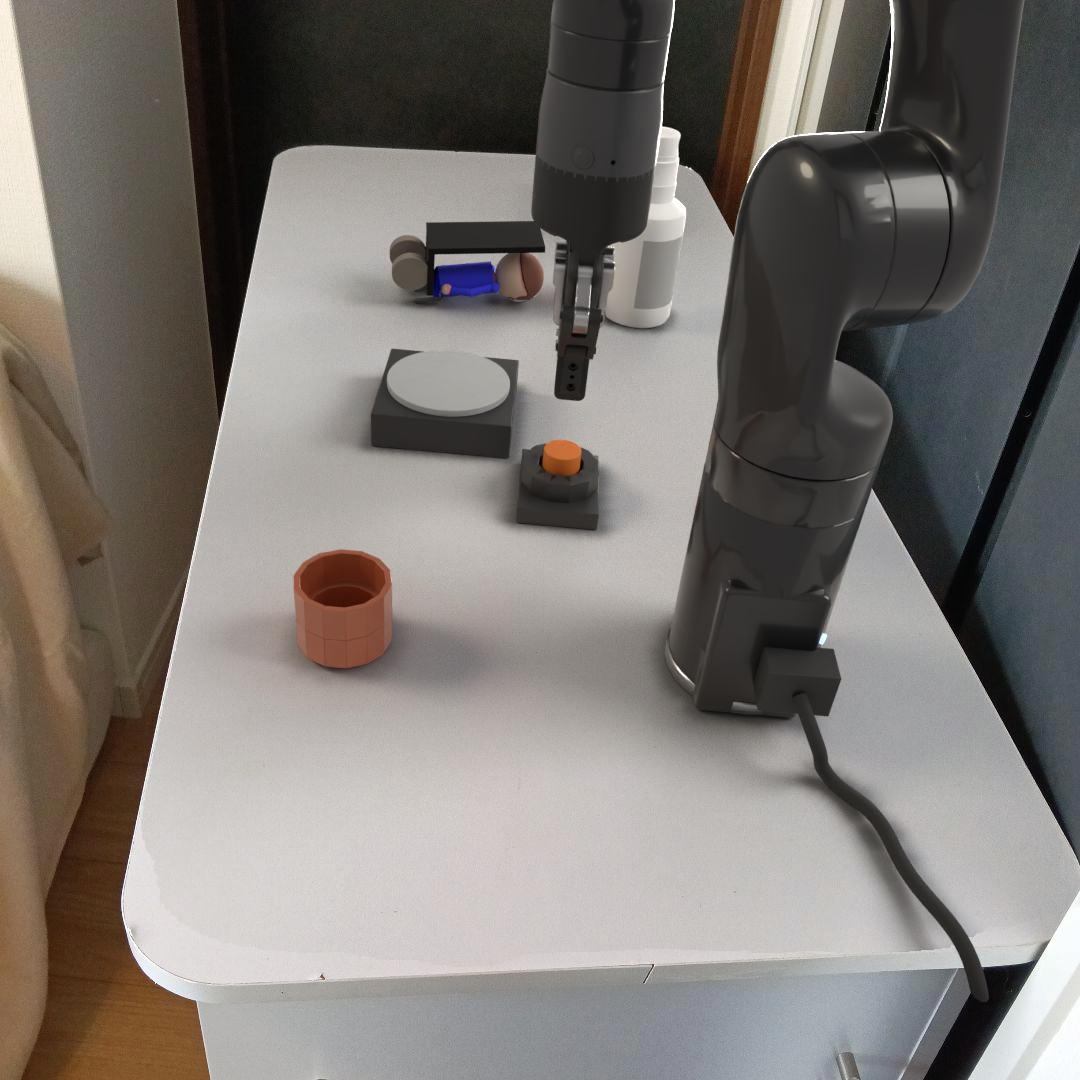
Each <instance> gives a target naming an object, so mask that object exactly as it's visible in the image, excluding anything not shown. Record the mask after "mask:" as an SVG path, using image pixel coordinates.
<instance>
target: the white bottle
mask: <svg viewBox="0 0 1080 1080" xmlns="http://www.w3.org/2000/svg"><path fill="white" fill-rule="evenodd" d="M681 136H682V135H681V132H680V131H679V130H677V129H674V128H672V127H668V126H662V128H661V135H660V141H659V148H658V154H657V161H656V169H655V175H654V182H653V189H652V196H651V203H650V210H649V216H648V223H647V227H646V229H645V230H644V232H643V233H642V234H641V235H639V236H638V237H636V238H635V239H632V240H630V241H627V242H623V243H621V242H618V243H614V244H611V245H609V247H614V248H615V250H614V261H613V263H615V273H614V280H613V287H612V289H611V291H609V292H608V296H607V303H606V311H605V317H606V318H607V319H609V320H610V321H612V322H614V323H616V324H618V325H621V326H624V327H629V328H637V329H650V328H655V327H660V326H661V325H664V324H666V323H667V320H668V319H669V317H670V315H671V311H672V310H671V309H672V305H673V304H672V303H673V297H674V291H675V285H676V280H677V273H678V267H679V261H680V257H681V249H682V245H683V238H684V233H685V232H684V231H685V226H686V221H687V210H686V209H687V208H686V206H685V205H684V204H683V203H682V202H681V201H680V200H678V199H677V198H676V197H675V196H676V189H677V177H678V172H679V171H678V170H679V164H680V157H679V154H680V152H679V145H680V140H681Z"/></svg>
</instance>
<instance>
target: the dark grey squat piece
mask: <svg viewBox="0 0 1080 1080" xmlns="http://www.w3.org/2000/svg"><path fill="white" fill-rule="evenodd" d="M547 443H548V442H545V443H542V444H536V445H534V446H532V447H531V448H530V449H529V448H522V450H521V460H520V469H519V470H520V471H519V483H518V492H517V504H516V514H515V523H517V524H528V525H529V524H530V525H539V526H551V527H562V528H573V529H584V530H594V531H597V529H598V525H599V518H600V480H599V479H600V461H599V458H600V457H599V455H596V454H593V453H592V452H591V450H589V449H586V448H584V447H581V446H579V447H580V448H581V451H582V453H581V461H580V469H579V471H578V472H577V473H576V474H573V475H568V476H563V475H554V474H551V473H549V472H547V471H545V470H544V468H543V466H542V463H543V453H544V447H545V445H546V444H547Z"/></svg>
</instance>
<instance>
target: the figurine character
mask: <svg viewBox="0 0 1080 1080" xmlns="http://www.w3.org/2000/svg"><path fill="white" fill-rule="evenodd" d="M425 227H426V228H425V229H426V231H425V242H423V240H421V239H420V238H419V237H418V236H415V235H411V234H404V235H400V236H398V237H397V238H395V239H393V241H392V242H391V243H390V245H389V259H390V263H391V277H392V280H393V282H394V284H395V285H396V286H397V287H399V288H400V289H402V290H405V291H413V292H415V293H417V292H426V297H425V296H424V297H416V298H414V299H412V300H411V302H412V303H415V304H423V303H434V302H440V301H442V300H444V299H445V298H450V297H451V298H452V297H466V298H467V297H468V298H469V297H470V298H473V297H476V296H479V295H485V294H496V293H498V292H499V293H500V294H501V295H502V296H503V297H504V298H506V299H507V300H510V301H512V302H517V303H523V302H526V301H530V300H532V299H533V298H535V297H536V296H537V295H538V294H539V292H540V291H541V290H542V287H543V285H544V281H545V273H544V268H543V265H542V264H541V262H540V260H539V259H538V258H537V257H536V256H535V255H534V254H545V253H546V244H545V241H544V236H543V233H542V229H541V228H540V227H539V226H537V224H536V223H535V222H534V220H511V221H510V220H508V221H507V220H506V221H504V220H502V221H496V220H495V221H431V222H429V221H427V222H425ZM487 254H488V255H489V254H490V255H491V254H494V255H495V254H496V255H497V254H505V255H504V256H502V257H501V258H500V260H499V261H498V262H497V264H496V267H495V266H494V264H492V262H491V260H490V261H489V260H488V261H480V262H465V263H455V264H441V265H437V266H435V263H436V262H435V261H436V255H487Z"/></svg>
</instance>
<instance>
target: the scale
mask: <svg viewBox="0 0 1080 1080" xmlns="http://www.w3.org/2000/svg"><path fill="white" fill-rule="evenodd" d="M519 366H520V360H519V359H513V358H512V359H511V358H502V357H501V358H500V357H499V358H498V357H489V356H481V355H479V354H475V353H472V352H466V351H463V350H462V351H461V350H452V349H450V350H449V349H446V350H445V349H438V350H436V349H435V350H427V351H426V350H425V351H423V350H412V349H402V348H391V349H390V351H389V355H388V358H387V361H386V365H385V368H384V370H383V374H382V377H381V379H380V383H379V386H378V389H377V393H376V396H375V398H374V399H375V400H374V401H373V405H372V408H371V412H370V446H371V447H381V448H391V449H392V448H393V449H402V450H413V451H424V452H436V453H448V454H457V455H469V456H481V457H489V458H490V457H491V458H501V459H502V458H503V459H509V458H510V454H511V447H512V445H511V443H512V436H513V435H512V434H513V427H514V417H515V410H516V401H517V400H516V399H517V391H518V380H519V379H518V378H519V368H520V367H519Z"/></svg>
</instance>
